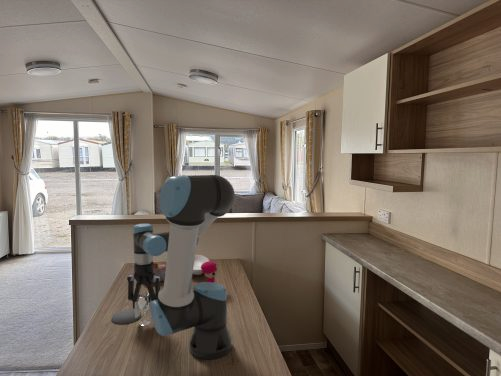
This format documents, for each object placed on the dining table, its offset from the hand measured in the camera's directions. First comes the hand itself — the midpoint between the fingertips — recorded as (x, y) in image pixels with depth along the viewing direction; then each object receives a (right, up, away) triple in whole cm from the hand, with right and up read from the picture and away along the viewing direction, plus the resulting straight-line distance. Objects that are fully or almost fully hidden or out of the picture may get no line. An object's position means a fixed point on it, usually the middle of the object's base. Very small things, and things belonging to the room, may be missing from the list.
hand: (144, 316), depth 138 cm
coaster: (-10, -2, +5) cm, 11 cm away
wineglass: (0, -3, 0) cm, 3 cm away
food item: (-10, +1, +49) cm, 49 cm away
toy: (+22, 0, +36) cm, 42 cm away
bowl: (+11, +2, +64) cm, 65 cm away
